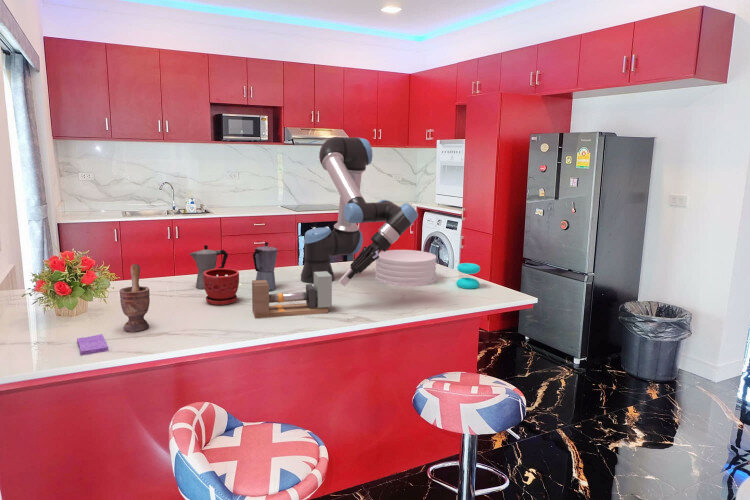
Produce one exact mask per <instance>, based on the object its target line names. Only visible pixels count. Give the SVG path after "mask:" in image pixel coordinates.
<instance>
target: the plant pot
mask: <svg viewBox="0 0 750 500" xmlns="http://www.w3.org/2000/svg"><path fill="white" fill-rule="evenodd" d="M216 275H217V276H216ZM203 281H204V288H205V289H204V291H205V294H206V296H205V300H206V302H207V303H208V304H211V305H216V306H223V305H229V304H230V305H231V304H233V303H234V302H235V301H237V299H238V295H237V292H238V290H239V284H240V271H239V270H237V269H235V268H227V267H224V268H218V267H217V268H215V269H210V270H207V271H205V272H204V273H203ZM209 283H211V284H209Z"/></svg>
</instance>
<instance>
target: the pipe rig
mask: <svg viewBox="0 0 750 500" xmlns="http://www.w3.org/2000/svg"><path fill="white" fill-rule="evenodd" d="M251 295H252V296H251V297H252V298H251V299H252V302H251V303H252V308H251V309H252V314H253V316H254V319H265V318H277V317H278V318H279V317H291V316H303V315H304V316H305V315H316V314H317V315H318V314H328V312H329V307H322V308H318V307H317V306H316V304H315V308H309V306H308V305H307V303H306V302H305V303H304V302H303V301H306V300H309V292H306V291H301V292H287V293H284V292H280V293H279V292H278V293H272V294H271V293H270V291H269V284H268V283H267V281H266V280H256V279H255V280H251ZM315 300H317V291H315ZM299 301H300V302H301V301H302V302H303V303H292V304H290V303H288V304H276V305H275V304H274V305H273V304H272V305H270V304H271V303H287V302H299Z"/></svg>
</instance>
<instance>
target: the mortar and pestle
mask: <svg viewBox="0 0 750 500" xmlns="http://www.w3.org/2000/svg"><path fill="white" fill-rule="evenodd" d="M140 274H141V267H140V265H139V264H137V263H133V264H132V265H130V277H131V286H126V287H122V288H121V289H119V298H120V307H121V309H122V313H123V315H124V316H126V318H128V320H127V321H126V322H125V323H124V326H123V330H124V331H125V332H126V331H127V332H130V333H136V332H139V331H140V332H141V331H145V330H147V329H149V327H150V325H149V323H148V321H147V320H146V319H145V315H146V314H147V313H148V311H149V307H150V301H151V300H150V299H151V298H150V296H151V295H150V288H149V287H148V286H140V283H139V281H140Z"/></svg>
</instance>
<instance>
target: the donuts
mask: <svg viewBox="0 0 750 500" xmlns="http://www.w3.org/2000/svg"><path fill="white" fill-rule="evenodd" d="M456 268H457V271H458V272H460V273H462V274H465V275H474V274H478V273H479V272H480V271H481V267H480V265H478V264H476V263H473V262H472V263H471V262H463V263H458V265H457V266H456ZM456 286H457V287H459V288H462V289H467V290H473V289H477V288H478V287H480V282H479V280H478V279H476V278H473V277H461V278H459V279H457V280H456Z"/></svg>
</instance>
